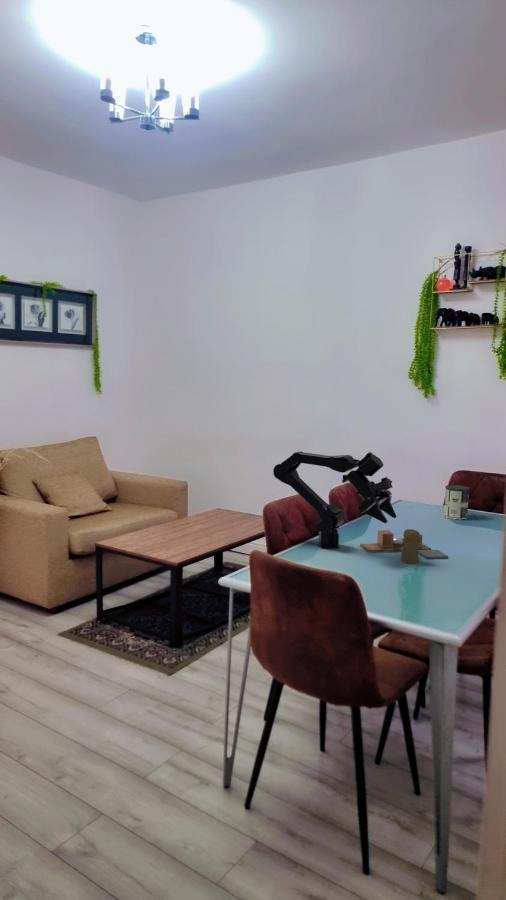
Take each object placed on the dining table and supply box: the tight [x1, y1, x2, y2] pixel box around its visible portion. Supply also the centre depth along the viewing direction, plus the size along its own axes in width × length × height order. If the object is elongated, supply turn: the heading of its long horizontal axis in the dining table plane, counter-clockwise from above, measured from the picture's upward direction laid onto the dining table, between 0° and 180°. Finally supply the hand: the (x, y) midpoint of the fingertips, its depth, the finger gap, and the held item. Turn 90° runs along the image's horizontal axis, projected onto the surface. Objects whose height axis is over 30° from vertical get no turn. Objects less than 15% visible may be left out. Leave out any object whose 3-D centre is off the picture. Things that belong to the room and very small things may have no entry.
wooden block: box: [376, 529, 405, 548], centre depth 215 cm, size 10×5×5 cm, turn 99°
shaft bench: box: [359, 532, 432, 554], centre depth 215 cm, size 24×8×6 cm, turn 99°
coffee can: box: [443, 484, 470, 521], centre depth 267 cm, size 10×10×14 cm
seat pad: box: [418, 549, 449, 560], centre depth 208 cm, size 8×8×1 cm
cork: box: [400, 528, 420, 565], centre depth 200 cm, size 6×6×11 cm
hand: (391, 520), depth 203 cm, fingers open, 9 cm apart
